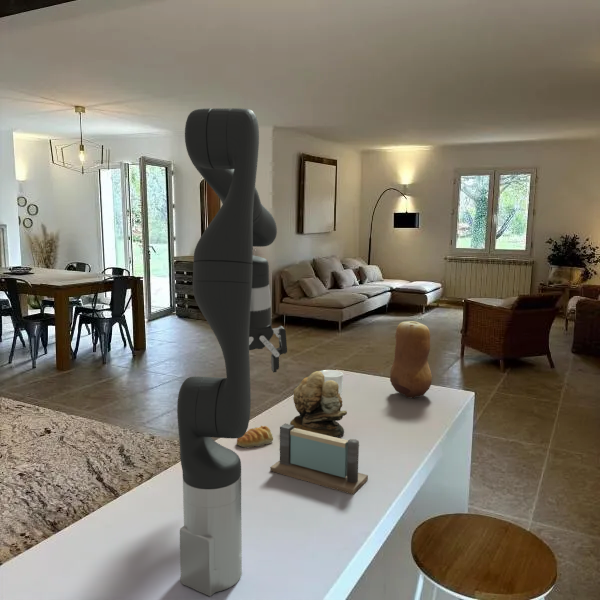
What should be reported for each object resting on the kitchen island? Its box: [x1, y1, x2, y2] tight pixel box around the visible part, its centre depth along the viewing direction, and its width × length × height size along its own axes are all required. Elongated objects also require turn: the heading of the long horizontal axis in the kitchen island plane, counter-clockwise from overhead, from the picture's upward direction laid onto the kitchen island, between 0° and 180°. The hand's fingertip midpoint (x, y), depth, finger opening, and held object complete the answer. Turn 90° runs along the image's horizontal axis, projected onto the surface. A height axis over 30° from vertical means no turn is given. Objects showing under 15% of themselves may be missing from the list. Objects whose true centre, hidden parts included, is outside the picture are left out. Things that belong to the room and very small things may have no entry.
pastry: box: [236, 425, 274, 449], centre depth 143 cm, size 9×7×4 cm
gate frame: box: [269, 423, 369, 495], centre depth 124 cm, size 8×21×10 cm, turn 60°
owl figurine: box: [289, 370, 348, 438], centre depth 151 cm, size 18×12×17 cm, turn 50°
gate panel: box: [290, 428, 349, 478], centre depth 124 cm, size 2×14×8 cm, turn 60°
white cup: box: [319, 369, 344, 398], centre depth 173 cm, size 8×8×10 cm
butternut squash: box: [389, 320, 433, 399], centre depth 180 cm, size 14×13×25 cm
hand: (255, 373), depth 124 cm, fingers open, 8 cm apart
